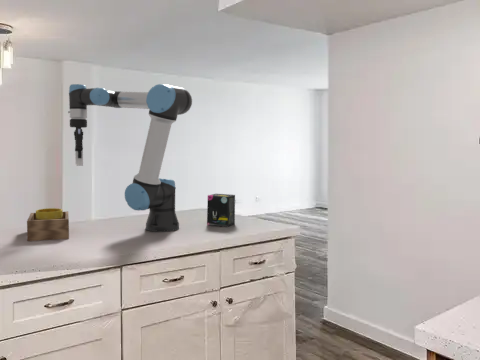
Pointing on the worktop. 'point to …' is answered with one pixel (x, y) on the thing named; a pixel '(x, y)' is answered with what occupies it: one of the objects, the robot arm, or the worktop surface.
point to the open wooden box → (47, 228)
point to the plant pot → (49, 214)
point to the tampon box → (221, 210)
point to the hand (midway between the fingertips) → (79, 165)
